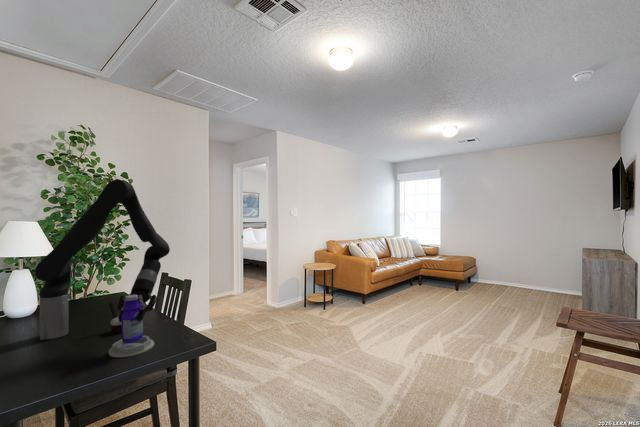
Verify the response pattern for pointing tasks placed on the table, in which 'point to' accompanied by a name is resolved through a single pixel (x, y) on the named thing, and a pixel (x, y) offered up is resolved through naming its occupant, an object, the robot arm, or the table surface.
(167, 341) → the table surface
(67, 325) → the robot arm
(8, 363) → the table surface
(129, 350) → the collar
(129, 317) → the bottle
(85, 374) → the table surface
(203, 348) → the table surface
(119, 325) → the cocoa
